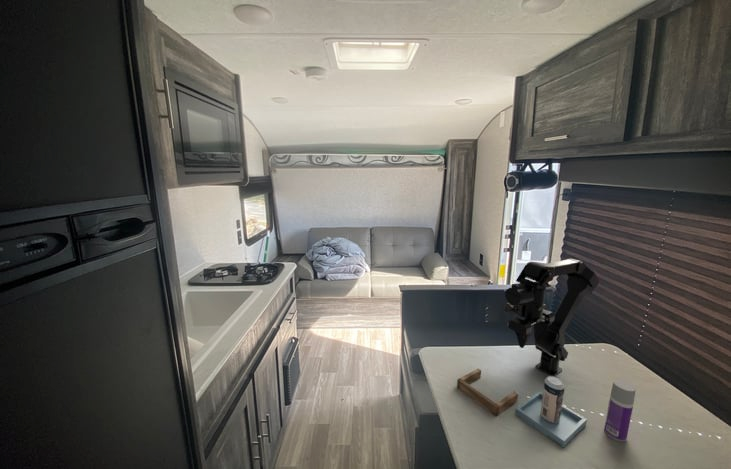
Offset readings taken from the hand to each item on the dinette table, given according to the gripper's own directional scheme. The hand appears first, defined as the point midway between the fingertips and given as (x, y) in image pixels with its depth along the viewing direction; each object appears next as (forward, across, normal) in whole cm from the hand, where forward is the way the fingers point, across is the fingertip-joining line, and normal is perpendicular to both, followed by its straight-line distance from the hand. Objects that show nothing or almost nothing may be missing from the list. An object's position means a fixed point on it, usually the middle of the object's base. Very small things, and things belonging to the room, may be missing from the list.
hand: (528, 343), depth 100 cm
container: (+13, +2, +26) cm, 29 cm away
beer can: (+13, +12, +14) cm, 22 cm away
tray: (+13, +12, +14) cm, 23 cm away
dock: (+13, +18, -2) cm, 22 cm away
